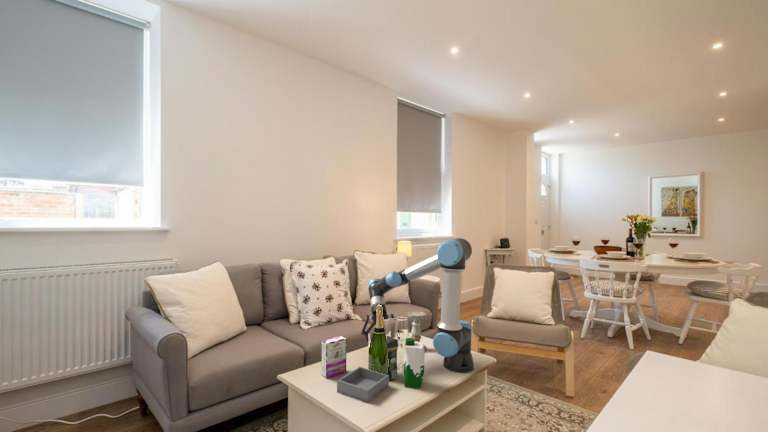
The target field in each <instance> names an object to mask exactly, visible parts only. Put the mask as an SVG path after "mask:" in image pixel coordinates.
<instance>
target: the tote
mask: <svg viewBox="0 0 768 432" xmlns="http://www.w3.org/2000/svg"><path fill="white" fill-rule="evenodd" d="M374 371H375V370H373V371H372V369H369V368H365V367H361V366H359V367H357V368H355V369H354V370H352V371H350V372H349V373H347V374H345V375H343V376H342V377H340V378H339V379H338V380H336V393H338V394H341V395H344V396H347V397H350V398H353V399H355V400H358V401H361V402H363V403H366V404H368V403H370V402H371V401H372V400H373V399H374V398H376V397H377V396H379V394H381V393H383V391H385V390H387V388H389V385H390V382H389V381H390V380H389V375H386V374H383V373H379V372H377V371H376V372H374Z"/></svg>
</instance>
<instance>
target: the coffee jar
mask: <svg viewBox="0 0 768 432" xmlns="http://www.w3.org/2000/svg"><path fill="white" fill-rule="evenodd" d="M387 346H388V359H389V367H388V373H387V375H389V381H391V380H394V379H396V378H397V377H398V349H399V347H398V340H397V339H395V337H392V336H390V335H387Z"/></svg>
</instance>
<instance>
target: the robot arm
mask: <svg viewBox="0 0 768 432" xmlns="http://www.w3.org/2000/svg"><path fill="white" fill-rule="evenodd" d="M437 247H438V248H437V250H436V253H435V254H433V255H431V256H429V257H427V258H425V259H422V260H421V261H418V262H417V263H415V264H412V265H411V266H408V267H406V268H404V269H402V270H400V271H395V270H394V271H391V272H388V273H387V274H386V275H385V276H384V277H382V278H373V279H370V280H369V281H368V283H367V287H368V294H369V301H370V310H371V315H369V314H367V315H366V317H365V323H364V325H363V327H362V330H361V333H360V334H361V335H362V336H364V337H365V342H366V343H367V344H368V348H369V347H370V343H371V344H372V342H371V333H370V332H371V331H372V330H373V328H374V327H375V326H376V325H377V324H376V306H377V305H378V304H380V305H382V307H383V317H384V319H388V320H389V318H395V316H394V314H393V313H391V314H390V315H388V313H387V307H386V300H385V294H387V293H388V292H390V291H391V290H393V289H395V288H400V287H401V286H406V285H408V284H409V283H412V282H414V281H416V280H417V279H419V278H423V277H424V276H427V275H429V274H431V273H434V272H436V271H437V270H440V269H441V271H442V285H441V286H442V288H441V310H440V321H439V322H438V323H437V324H436V325H437V326H436V334H435V335H434V336H433V339H432V345H433V348H434V351H436V353H437V354H439V355H440V356H442V357H443V364H442V365H443V367H444V368H445V369H446V370H449V371H451V372H455V373H471V372H472V371H474V369H475V361H474V358H473V355H472V352H471V351H472V331H473V328H472V323H471V321H467V320H464V319H460V314H461V313H460V311H461V293H462V292H461V291H462V290H461V288H462V273H463V272H464V271H465V270H466V261H468V260H469V259H470V257H471V256H472V253H473V247H472V245H471V243H470V242H469V241H468V240H466V239H465V238H461V237H457V238H451V239H447V240H444V241H443V242H441V243H440V244H439V246H437ZM371 320H372V323H371V324H370V326H369V327H368V324H369V321H371ZM367 327H368V328H367ZM366 329H367V330H366ZM398 332H399V330H398ZM396 339H397V340H398V348H399V347H400V339H401V336H400V337H398V334H397V332H396Z"/></svg>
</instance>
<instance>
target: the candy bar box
mask: <svg viewBox="0 0 768 432" xmlns="http://www.w3.org/2000/svg"><path fill="white" fill-rule="evenodd" d="M346 373H347V338H346V337H344V336H343V335H339V336H335V337H331V338H328V339H322V340H321V376H322V377H323V378H325V379H330V378H332V377H333V378H334V377H336V376H340V375H342V374H346Z"/></svg>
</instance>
